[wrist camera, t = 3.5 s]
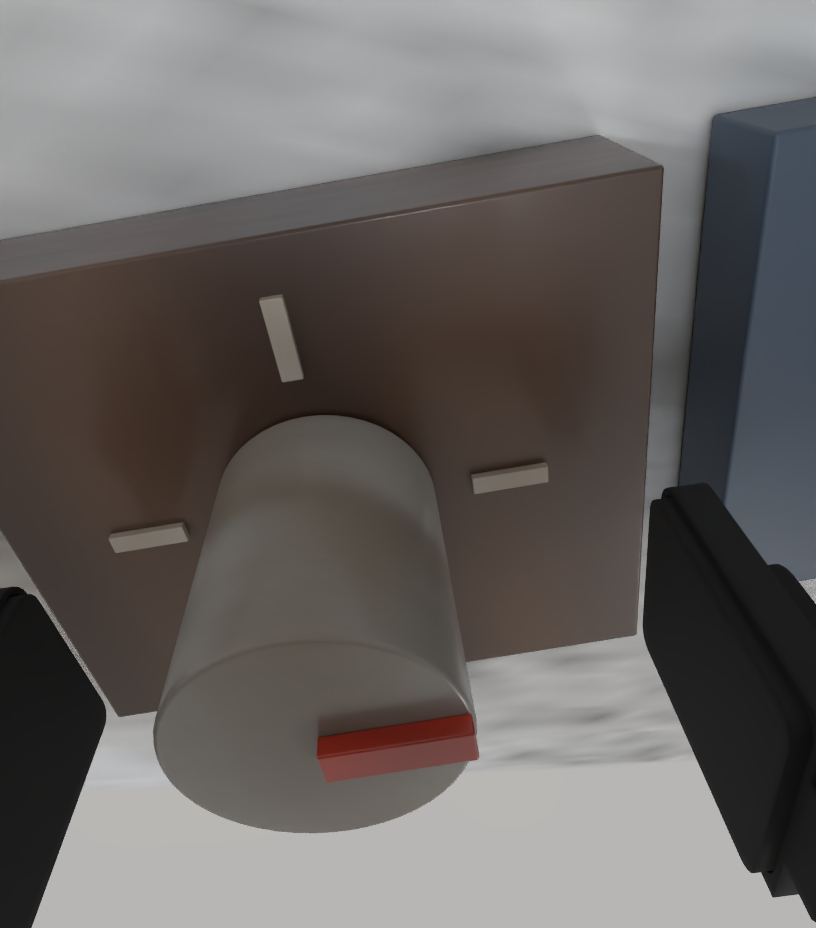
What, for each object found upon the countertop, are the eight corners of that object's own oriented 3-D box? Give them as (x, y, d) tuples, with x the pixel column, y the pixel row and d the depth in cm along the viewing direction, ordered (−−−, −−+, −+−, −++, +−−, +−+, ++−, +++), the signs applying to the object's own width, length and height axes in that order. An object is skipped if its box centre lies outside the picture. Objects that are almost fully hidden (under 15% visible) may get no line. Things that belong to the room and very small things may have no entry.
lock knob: (252, 600, 14) (207, 876, 9) (187, 434, 12) (87, 694, 7) (447, 568, 14) (494, 831, 9) (419, 395, 11) (463, 633, 7)
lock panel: (149, 621, 18) (116, 724, 15) (-46, 247, 12) (-151, 310, 10) (597, 548, 18) (640, 641, 15) (601, 133, 12) (670, 166, 10)
